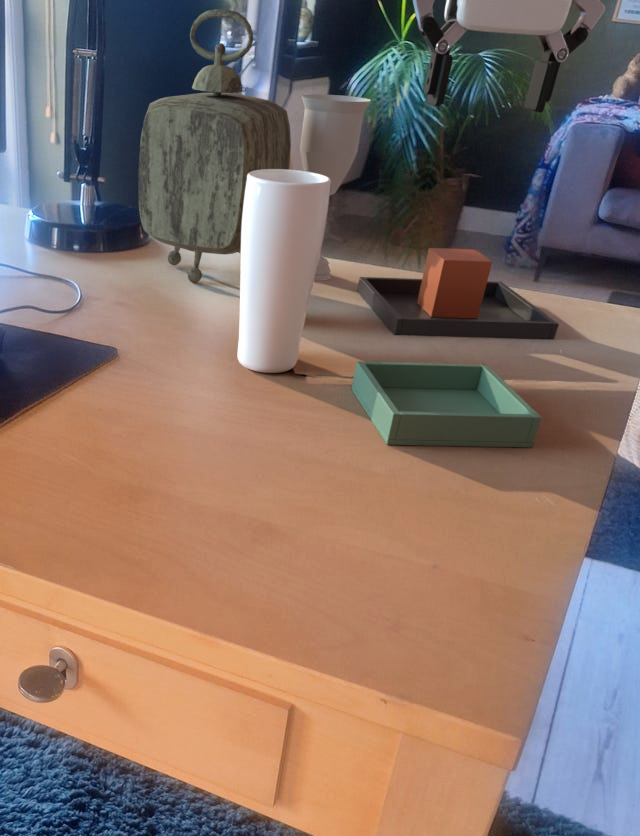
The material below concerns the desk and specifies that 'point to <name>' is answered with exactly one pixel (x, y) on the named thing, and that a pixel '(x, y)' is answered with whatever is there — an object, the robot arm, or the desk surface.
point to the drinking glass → (278, 263)
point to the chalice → (330, 142)
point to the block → (454, 282)
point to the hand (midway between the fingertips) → (483, 107)
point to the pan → (496, 318)
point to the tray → (443, 405)
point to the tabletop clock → (207, 156)
